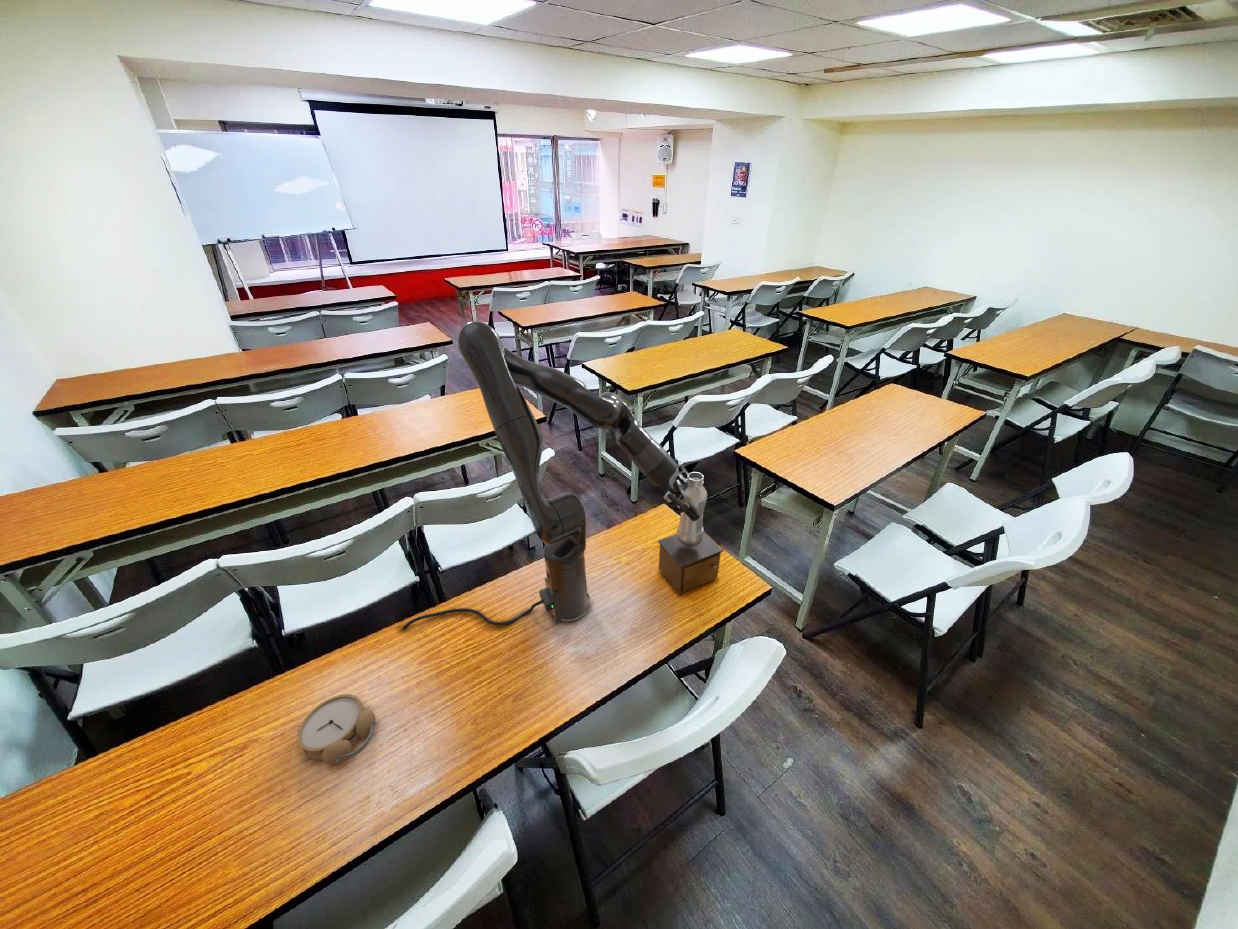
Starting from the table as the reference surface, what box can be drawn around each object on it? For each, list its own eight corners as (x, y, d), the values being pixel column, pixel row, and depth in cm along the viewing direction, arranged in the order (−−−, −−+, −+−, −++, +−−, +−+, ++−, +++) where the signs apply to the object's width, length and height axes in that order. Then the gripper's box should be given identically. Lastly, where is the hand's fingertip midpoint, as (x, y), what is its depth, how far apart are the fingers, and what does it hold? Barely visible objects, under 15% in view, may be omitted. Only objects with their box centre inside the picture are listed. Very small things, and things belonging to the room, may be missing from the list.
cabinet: (680, 601, 118) (683, 569, 112) (656, 571, 127) (657, 540, 121) (721, 583, 123) (725, 552, 117) (695, 556, 132) (698, 525, 126)
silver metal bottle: (702, 551, 116) (709, 485, 105) (674, 548, 117) (679, 482, 107) (703, 534, 121) (710, 470, 111) (677, 531, 123) (682, 467, 112)
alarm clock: (337, 685, 97) (383, 709, 89) (348, 701, 99) (393, 725, 92) (283, 734, 88) (329, 765, 81) (296, 750, 90) (342, 781, 83)
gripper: (650, 454, 118) (693, 501, 121) (634, 485, 106) (682, 535, 110) (671, 439, 114) (715, 487, 117) (657, 469, 102) (706, 522, 105)
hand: (699, 510), depth 113 cm, fingers closed on silver metal bottle, 6 cm apart
